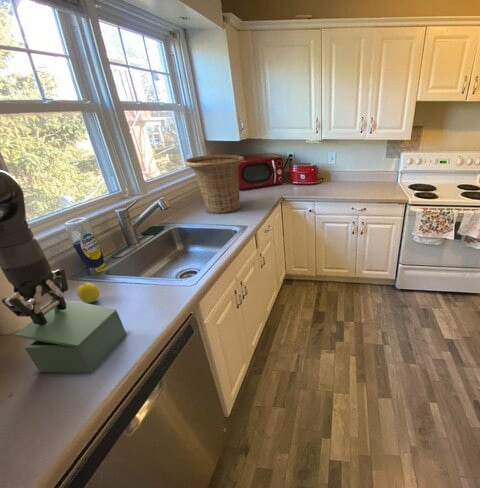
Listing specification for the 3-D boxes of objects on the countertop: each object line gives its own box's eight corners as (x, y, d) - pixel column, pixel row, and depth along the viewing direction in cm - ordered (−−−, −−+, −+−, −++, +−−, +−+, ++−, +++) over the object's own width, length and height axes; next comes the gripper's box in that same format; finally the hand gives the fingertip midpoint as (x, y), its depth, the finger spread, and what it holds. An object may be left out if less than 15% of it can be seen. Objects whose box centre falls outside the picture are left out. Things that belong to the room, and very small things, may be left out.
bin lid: (14, 336, 67) (9, 321, 64) (64, 301, 79) (61, 287, 77) (78, 347, 68) (75, 333, 66) (116, 311, 80) (115, 298, 78)
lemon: (79, 305, 97) (70, 285, 93) (96, 296, 101) (87, 277, 98) (89, 308, 95) (80, 289, 91) (106, 299, 100) (98, 280, 96)
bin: (40, 372, 72) (24, 347, 68) (82, 334, 84) (70, 311, 80) (92, 373, 72) (78, 348, 68) (126, 334, 84) (117, 311, 80)
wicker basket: (231, 220, 170) (222, 164, 155) (183, 215, 179) (170, 162, 164) (259, 203, 200) (253, 155, 185) (217, 199, 209) (208, 153, 194)
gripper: (35, 245, 72) (62, 299, 79) (-30, 275, 59) (9, 336, 66) (64, 245, 71) (88, 299, 79) (5, 275, 58) (41, 336, 66)
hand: (52, 316), depth 72 cm, fingers closed on bin lid, 5 cm apart
